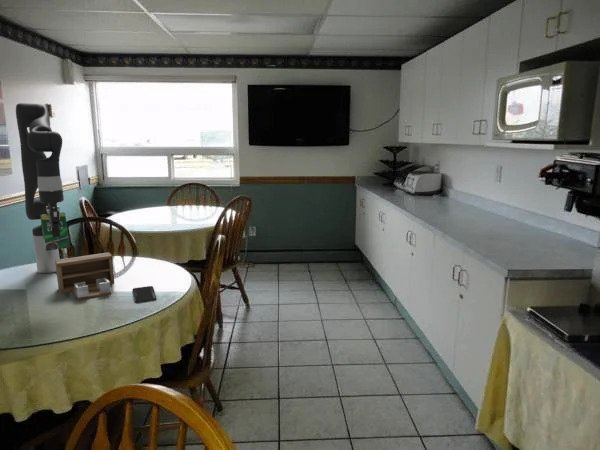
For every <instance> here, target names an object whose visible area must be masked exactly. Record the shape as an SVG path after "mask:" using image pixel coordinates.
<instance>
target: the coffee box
mask: <svg viewBox="0 0 600 450" xmlns="http://www.w3.org/2000/svg"><path fill="white" fill-rule="evenodd" d="M59 214H60V226H59V231H60V236H59V237H53V233H52V226H51V221H50V220H49V216H48V214H45V215H40V218H41V219H40V223H41V224H40V225H42V232H43V238H44V245H45V250H46V251H49V250H56V249H58V250H63V249H69V248H71V247H70V246H71V245H70V239H69V238H70V237H69V231H68V230H69V229H68V224H67V217H66V212H64V211H62V212H59ZM50 217H51V216H50ZM56 222H57V221H53V223H56Z"/></svg>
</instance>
